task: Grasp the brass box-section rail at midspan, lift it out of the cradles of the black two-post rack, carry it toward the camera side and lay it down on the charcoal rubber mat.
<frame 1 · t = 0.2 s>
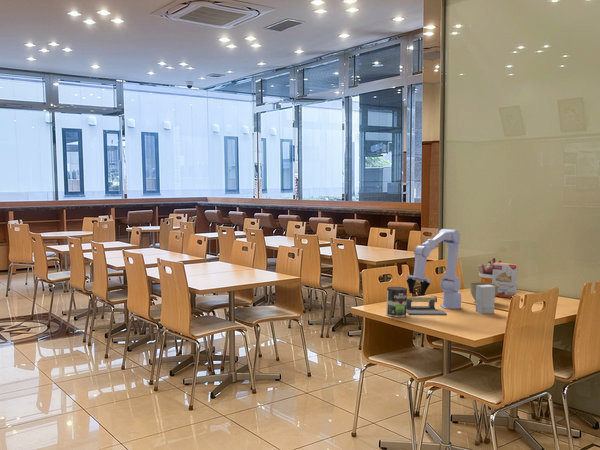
hand: (416, 294, 297), 11 cm above the table, tool pointing down, fingers open, 7 cm apart
skincare box: (484, 313, 306), on the table
rack: (419, 308, 312), on the table
rail: (420, 301, 312), point 4 cm above the table, touching rack
mat: (426, 313, 300), on the table
coffee can: (396, 315, 295), on the table
planter bowl: (483, 303, 333), on the table
bucket of meat: (490, 288, 385), on the table
cracker box: (503, 297, 354), on the table
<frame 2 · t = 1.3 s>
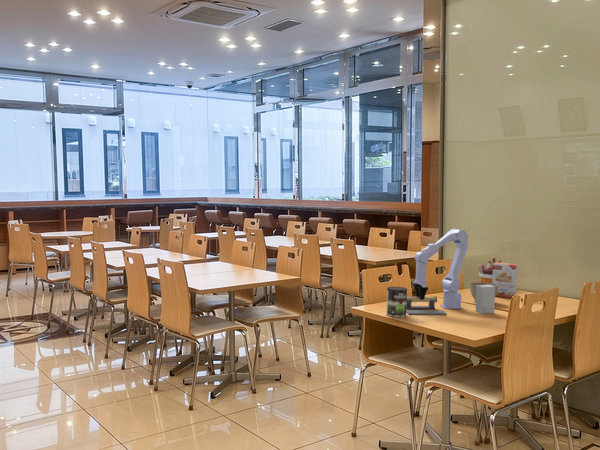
hand: (420, 298, 312), 6 cm above the table, tool pointing down, fingers open, 7 cm apart
nothing on the table moved.
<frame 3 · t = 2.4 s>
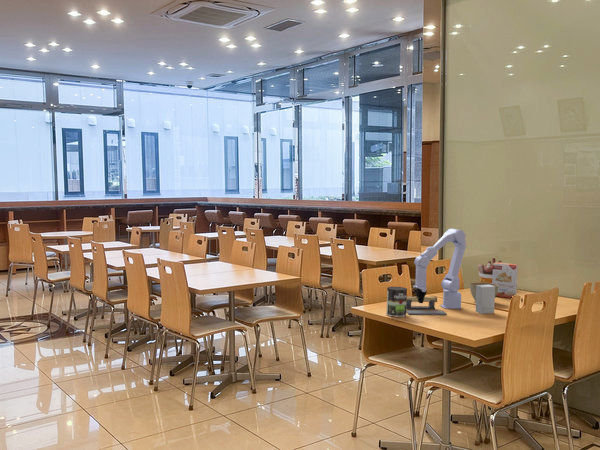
hand: (420, 302, 312), 3 cm above the table, tool pointing down, fingers closed on rail, 2 cm apart
rail: (420, 301, 312), point 4 cm above the table, touching gripper, rack
everything else where it was.
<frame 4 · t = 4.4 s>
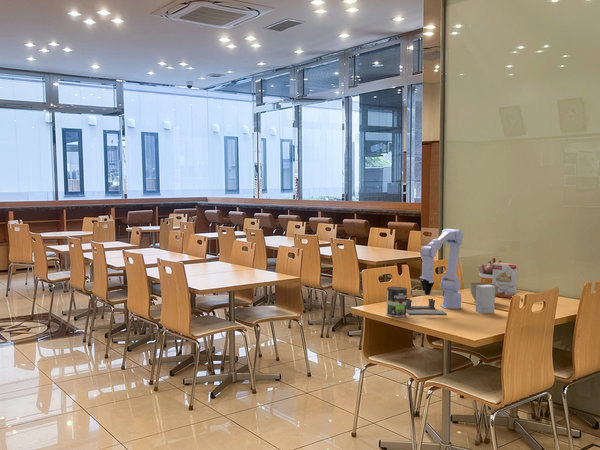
hand: (426, 294, 300), 10 cm above the table, tool pointing down, fingers closed on rail, 2 cm apart
rail: (426, 295, 300), point 10 cm above the table, touching gripper
everything else where it was.
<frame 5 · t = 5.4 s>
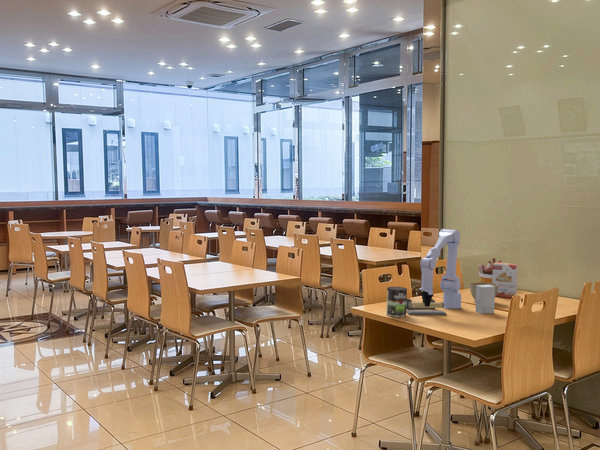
hand: (426, 305, 300), 4 cm above the table, tool pointing down, fingers closed on rail, 2 cm apart
rail: (426, 307, 300), point 3 cm above the table, touching gripper
everything else where it was.
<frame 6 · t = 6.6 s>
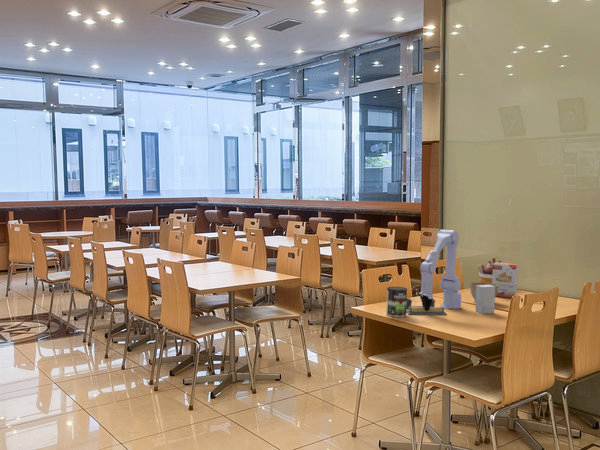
hand: (426, 310, 300), 2 cm above the table, tool pointing down, fingers closed on rail, 2 cm apart
rail: (426, 311, 300), point 1 cm above the table, touching gripper, mat
everything else where it was.
when the fingers open (2 cm above the table, at t = 6.6 s): rail stays where it is, resting on mat.
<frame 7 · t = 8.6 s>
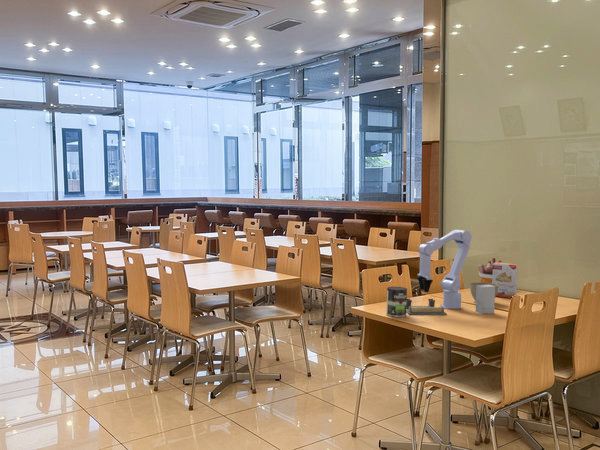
hand: (424, 290, 310), 10 cm above the table, tool pointing down, fingers open, 7 cm apart
rail: (426, 311, 300), point 1 cm above the table, touching mat
everything else where it was.
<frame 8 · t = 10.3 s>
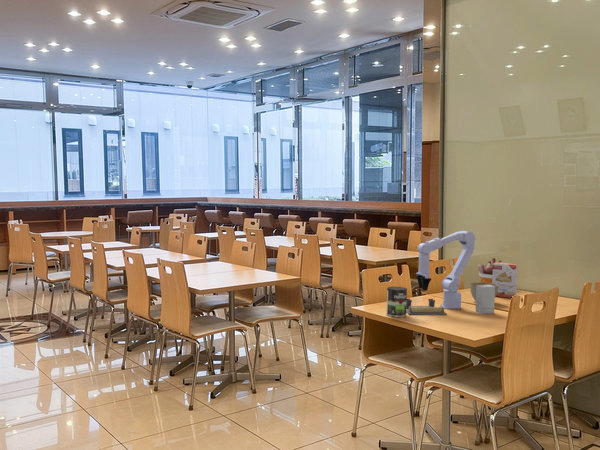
hand: (423, 289, 314), 10 cm above the table, tool pointing down, fingers open, 7 cm apart
nothing on the table moved.
at the end: rail inside the target area on the mat (0.0 cm from its centre), point 0.9 cm above the mat's base; the gripper is holding nothing; rail touching mat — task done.
